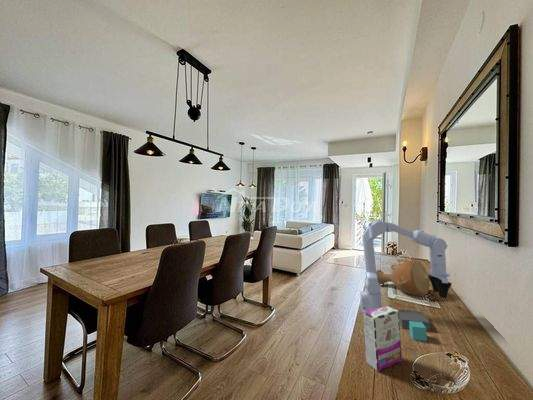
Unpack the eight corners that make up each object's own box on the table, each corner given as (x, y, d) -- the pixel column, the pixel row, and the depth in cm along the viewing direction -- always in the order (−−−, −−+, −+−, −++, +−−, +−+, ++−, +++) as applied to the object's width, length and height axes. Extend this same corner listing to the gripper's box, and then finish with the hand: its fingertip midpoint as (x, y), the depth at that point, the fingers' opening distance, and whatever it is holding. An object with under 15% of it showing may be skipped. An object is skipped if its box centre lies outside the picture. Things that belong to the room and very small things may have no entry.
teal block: (413, 340, 87) (412, 326, 87) (409, 333, 91) (408, 320, 92) (426, 341, 86) (426, 328, 86) (422, 335, 90) (422, 322, 90)
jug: (418, 281, 118) (365, 275, 142) (433, 306, 122) (379, 297, 146) (427, 253, 128) (376, 252, 153) (441, 277, 132) (389, 273, 157)
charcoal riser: (402, 328, 95) (401, 319, 96) (396, 317, 105) (396, 309, 105) (430, 331, 92) (429, 322, 93) (422, 319, 102) (421, 311, 102)
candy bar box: (388, 353, 80) (386, 304, 80) (402, 362, 75) (399, 310, 76) (364, 362, 75) (362, 311, 76) (377, 372, 70) (375, 317, 71)
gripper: (456, 268, 97) (458, 301, 96) (442, 260, 110) (443, 289, 110) (436, 267, 99) (438, 299, 98) (424, 260, 113) (426, 288, 112)
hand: (439, 294), depth 104 cm, fingers open, 7 cm apart
